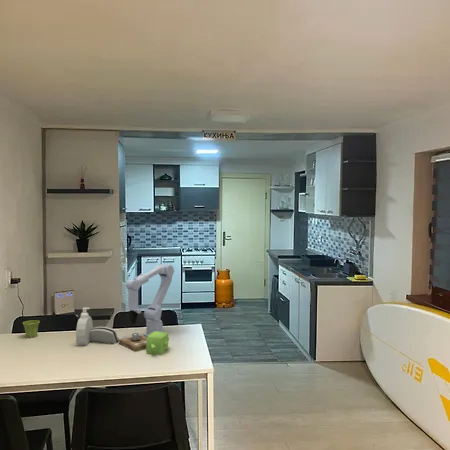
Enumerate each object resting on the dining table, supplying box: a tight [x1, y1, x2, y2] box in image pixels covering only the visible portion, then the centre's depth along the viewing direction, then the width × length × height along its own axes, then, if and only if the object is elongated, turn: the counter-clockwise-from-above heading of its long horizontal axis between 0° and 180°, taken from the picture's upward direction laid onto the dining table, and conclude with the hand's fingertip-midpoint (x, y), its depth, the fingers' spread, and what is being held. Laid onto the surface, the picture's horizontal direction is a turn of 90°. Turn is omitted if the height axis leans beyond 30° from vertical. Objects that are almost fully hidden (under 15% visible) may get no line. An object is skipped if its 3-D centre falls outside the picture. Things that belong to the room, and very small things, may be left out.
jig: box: [118, 335, 147, 352], centre depth 245 cm, size 13×18×3 cm
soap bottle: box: [75, 307, 94, 346], centre depth 250 cm, size 16×5×20 cm, turn 1°
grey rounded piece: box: [90, 326, 120, 344], centre depth 251 cm, size 17×5×10 cm, turn 74°
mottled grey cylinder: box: [131, 332, 139, 342], centre depth 246 cm, size 4×4×6 cm
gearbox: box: [145, 331, 170, 355], centre depth 233 cm, size 18×10×10 cm, turn 166°
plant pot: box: [22, 320, 41, 338], centre depth 262 cm, size 9×9×9 cm
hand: (133, 323), depth 254 cm, fingers closed
